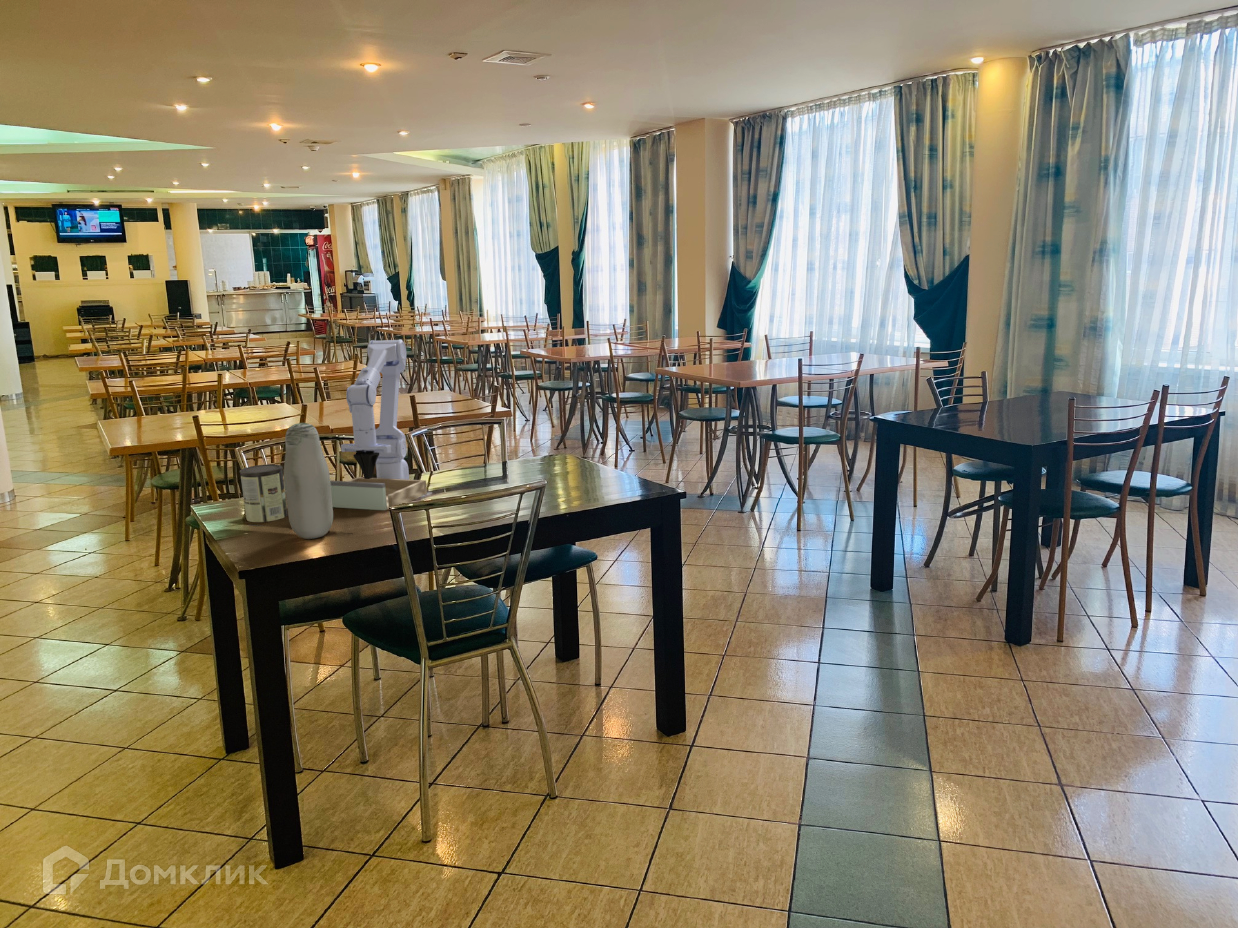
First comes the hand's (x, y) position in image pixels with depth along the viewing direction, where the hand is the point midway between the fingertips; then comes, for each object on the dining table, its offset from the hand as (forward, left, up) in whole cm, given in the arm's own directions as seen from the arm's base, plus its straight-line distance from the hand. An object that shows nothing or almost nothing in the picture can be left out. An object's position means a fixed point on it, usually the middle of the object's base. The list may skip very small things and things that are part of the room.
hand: (368, 478), depth 243 cm
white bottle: (+30, +4, -8) cm, 31 cm away
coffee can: (+20, -18, -8) cm, 28 cm away
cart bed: (-2, 0, -8) cm, 8 cm away
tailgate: (+7, 0, -6) cm, 10 cm away
